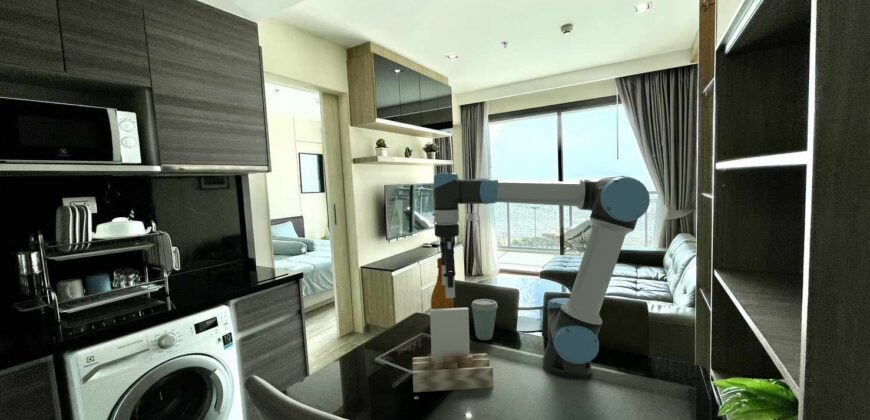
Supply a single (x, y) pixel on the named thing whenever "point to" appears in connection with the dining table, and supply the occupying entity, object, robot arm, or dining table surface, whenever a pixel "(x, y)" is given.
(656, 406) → the dining table surface
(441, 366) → the offcut front
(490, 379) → the rack
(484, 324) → the disposable coffee cup
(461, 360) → the offcut near sheet
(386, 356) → the picture frame
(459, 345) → the tall sheet
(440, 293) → the wine bottle
